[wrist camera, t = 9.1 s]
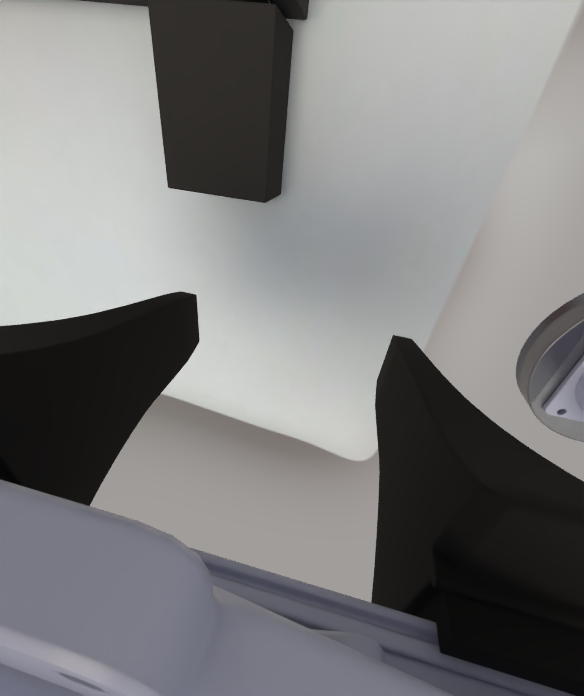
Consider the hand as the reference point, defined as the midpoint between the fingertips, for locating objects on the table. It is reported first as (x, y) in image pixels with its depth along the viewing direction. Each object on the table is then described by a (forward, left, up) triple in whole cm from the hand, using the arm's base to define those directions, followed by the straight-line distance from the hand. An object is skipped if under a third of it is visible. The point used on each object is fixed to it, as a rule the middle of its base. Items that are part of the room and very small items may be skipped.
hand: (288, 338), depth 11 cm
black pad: (+5, -8, -9) cm, 13 cm away
